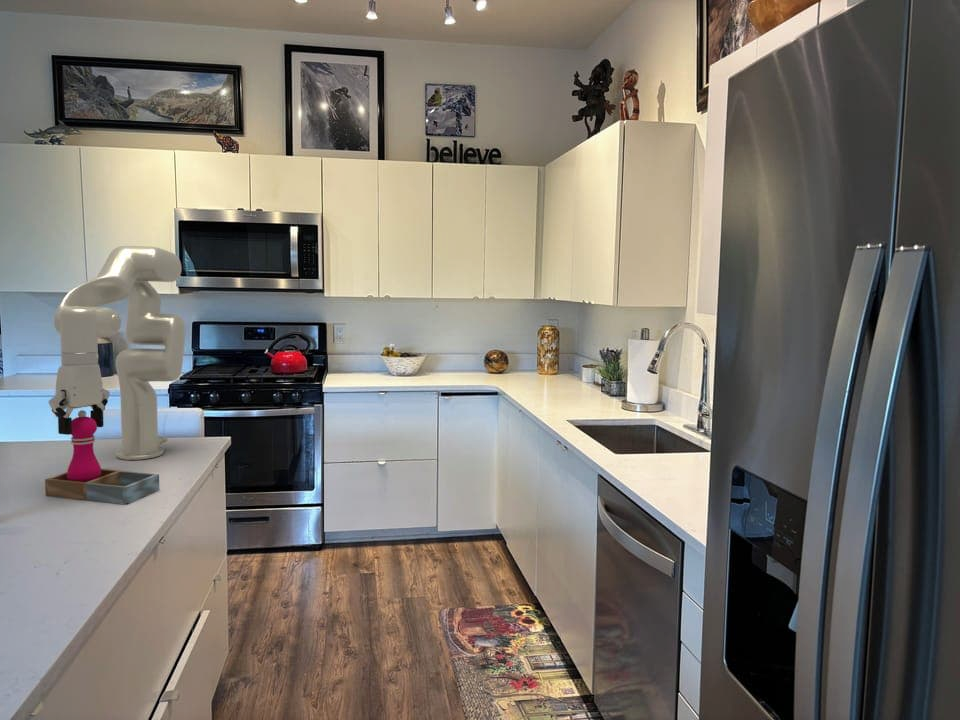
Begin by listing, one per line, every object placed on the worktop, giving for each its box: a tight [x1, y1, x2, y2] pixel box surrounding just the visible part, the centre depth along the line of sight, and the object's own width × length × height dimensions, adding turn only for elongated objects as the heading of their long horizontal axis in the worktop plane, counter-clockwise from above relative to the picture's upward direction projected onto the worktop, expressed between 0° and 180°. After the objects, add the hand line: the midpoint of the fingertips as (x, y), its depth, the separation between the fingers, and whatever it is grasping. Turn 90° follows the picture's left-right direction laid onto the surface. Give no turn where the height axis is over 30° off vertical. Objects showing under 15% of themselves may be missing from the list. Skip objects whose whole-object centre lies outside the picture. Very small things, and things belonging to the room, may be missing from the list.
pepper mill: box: [67, 409, 102, 482], centre depth 161 cm, size 7×7×20 cm
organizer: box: [44, 468, 160, 505], centre depth 161 cm, size 11×22×4 cm, turn 78°
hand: (81, 430), depth 160 cm, fingers open, 9 cm apart
